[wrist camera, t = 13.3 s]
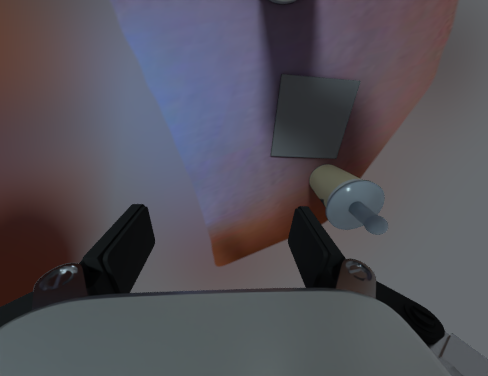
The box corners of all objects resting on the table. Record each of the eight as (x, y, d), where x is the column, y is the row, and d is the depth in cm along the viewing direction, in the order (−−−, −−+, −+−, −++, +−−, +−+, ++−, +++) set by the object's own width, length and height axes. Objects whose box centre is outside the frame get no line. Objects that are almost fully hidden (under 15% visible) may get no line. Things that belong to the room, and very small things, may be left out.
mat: (281, 74, 34) (282, 74, 33) (358, 81, 35) (360, 80, 34) (270, 155, 41) (271, 155, 40) (334, 157, 42) (336, 158, 42)
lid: (335, 179, 31) (364, 201, 25) (390, 180, 32) (433, 202, 26) (319, 227, 36) (339, 256, 30) (368, 227, 37) (398, 255, 31)
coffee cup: (299, 188, 46) (320, 216, 35) (317, 155, 42) (347, 175, 31) (329, 197, 48) (358, 226, 37) (349, 167, 44) (387, 189, 33)
